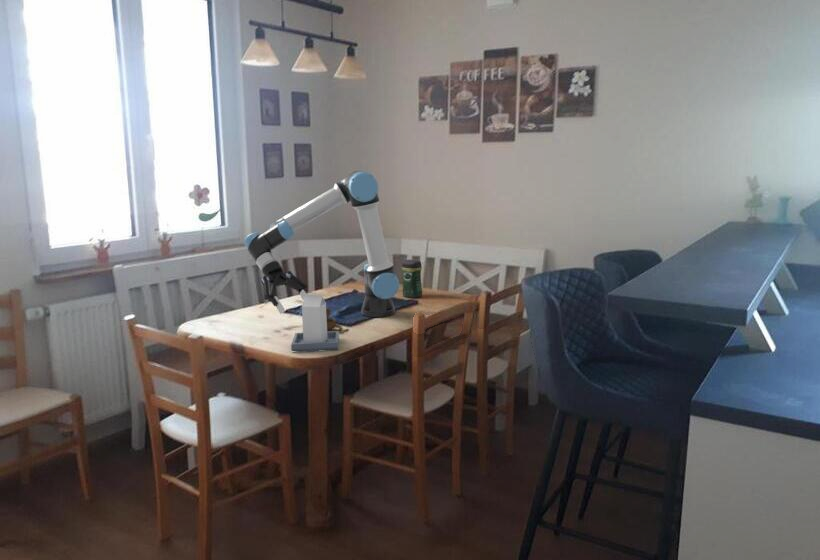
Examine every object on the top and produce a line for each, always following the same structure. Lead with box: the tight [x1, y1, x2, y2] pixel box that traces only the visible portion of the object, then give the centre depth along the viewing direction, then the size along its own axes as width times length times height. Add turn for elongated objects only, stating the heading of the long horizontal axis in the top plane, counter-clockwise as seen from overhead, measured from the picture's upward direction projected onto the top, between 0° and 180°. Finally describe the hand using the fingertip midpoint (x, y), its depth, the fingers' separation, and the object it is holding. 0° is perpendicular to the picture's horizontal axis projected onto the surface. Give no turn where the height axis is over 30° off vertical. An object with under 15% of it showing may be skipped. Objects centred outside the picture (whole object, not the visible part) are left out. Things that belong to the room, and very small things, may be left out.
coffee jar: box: [401, 259, 423, 299], centre depth 323 cm, size 10×8×19 cm
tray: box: [291, 330, 340, 352], centre depth 247 cm, size 17×15×3 cm
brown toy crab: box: [326, 308, 349, 334], centre depth 270 cm, size 18×20×6 cm
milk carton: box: [301, 293, 328, 343], centre depth 245 cm, size 7×7×19 cm
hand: (296, 308), depth 252 cm, fingers open, 13 cm apart
